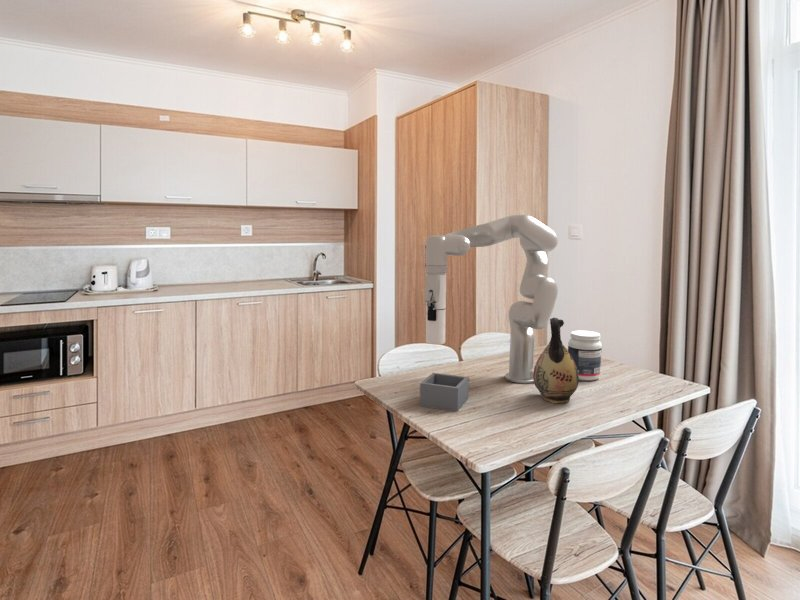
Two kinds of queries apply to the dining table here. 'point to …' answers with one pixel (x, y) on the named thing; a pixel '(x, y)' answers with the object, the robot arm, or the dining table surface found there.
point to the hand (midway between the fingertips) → (435, 318)
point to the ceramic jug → (556, 369)
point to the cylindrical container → (437, 317)
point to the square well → (444, 391)
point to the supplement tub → (586, 353)
